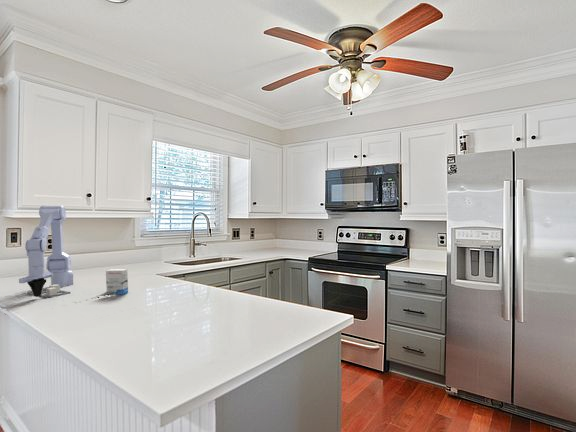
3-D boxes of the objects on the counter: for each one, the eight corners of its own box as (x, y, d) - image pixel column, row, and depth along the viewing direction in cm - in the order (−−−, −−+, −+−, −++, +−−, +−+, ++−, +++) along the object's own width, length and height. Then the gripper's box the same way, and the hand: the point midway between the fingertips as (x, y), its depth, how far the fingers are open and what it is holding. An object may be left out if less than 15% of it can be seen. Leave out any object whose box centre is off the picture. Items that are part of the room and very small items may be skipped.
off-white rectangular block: (53, 294, 161) (53, 287, 161) (57, 295, 160) (56, 287, 159) (46, 296, 158) (46, 288, 158) (50, 297, 157) (49, 289, 157)
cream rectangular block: (56, 291, 168) (56, 284, 168) (59, 292, 166) (59, 284, 166) (49, 292, 165) (49, 285, 165) (53, 293, 164) (53, 286, 164)
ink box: (128, 292, 170) (128, 268, 170) (122, 295, 165) (122, 270, 165) (112, 292, 171) (111, 268, 171) (105, 294, 166) (105, 270, 166)
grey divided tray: (50, 292, 172) (50, 288, 172) (70, 296, 164) (70, 291, 164) (27, 296, 163) (27, 292, 163) (47, 301, 155) (47, 296, 155)
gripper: (44, 263, 161) (45, 292, 162) (13, 268, 147) (13, 299, 147) (56, 263, 160) (57, 292, 160) (26, 268, 146) (26, 300, 146)
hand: (37, 296), depth 154 cm, fingers closed
